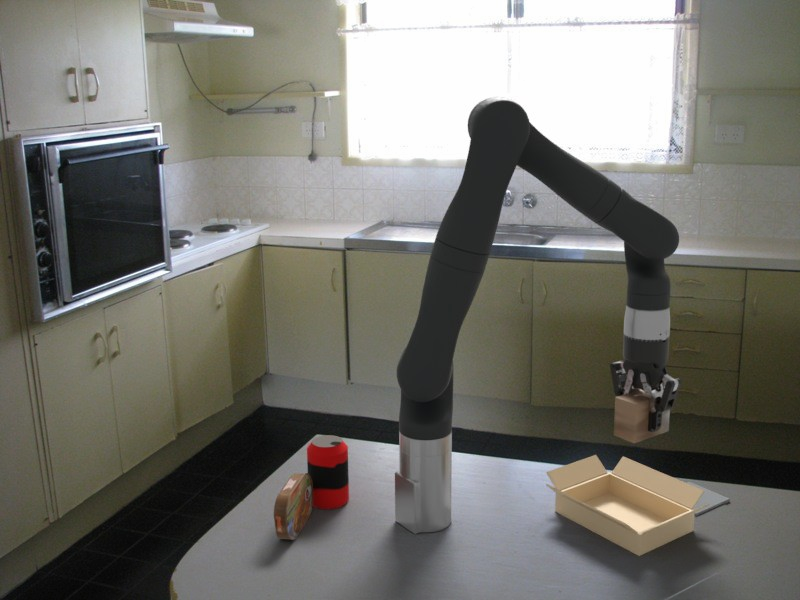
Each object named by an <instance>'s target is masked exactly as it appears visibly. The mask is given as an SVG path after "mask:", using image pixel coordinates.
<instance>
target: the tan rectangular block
mask: <svg viewBox="0 0 800 600" xmlns="http://www.w3.org/2000/svg"><path fill="white" fill-rule="evenodd" d="M655 391H656V390H653V391H652V393H653V392H655ZM614 400H615V401H614V420H613V425H614V426H613V436H615V437H617V438H620V439H622V440H624V441H627V442H629V443H632V444H636V443H639V442H642V441H644V440H648V439H650V438H653V437H656V436H659V435H661V434H664V433H668V432H669V431H670V417H671V416H670V414H671V409H670V410H666V411H664V412H662V422H661V423H662V425H661V428H659V430H658V431H655V432H650V431H648V420H649V411H650V408H649V400H648V399H646V398H645V394H644V391H643V390H642V389H641V390H640V391H634V392H632V393H630V394H629V393H627V394H624V395H621V396H615V397H614ZM655 401H657V398H655ZM656 404H657V403H656Z"/></svg>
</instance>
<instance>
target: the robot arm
mask: <svg viewBox="0 0 800 600" xmlns="http://www.w3.org/2000/svg"><path fill="white" fill-rule="evenodd" d="M467 133H468V137H469V138H470V140H469V141H470V142H469V147H468V153H467V157H466V162H465V165H464V170H463V175H462V178H461V181H460V183H459V186H458V189H457V190H456V192H455V193H454V196H453V198H452V199H451V202H450V203H449V205H448V207H447V210H446V211H445V214H444V216H443V218H442V220H441V223H440V225H439V228H438V229H437V233H436V235H435V240H434V243H433V247H432V249H431V253H430V257H429V260H428V265H427V268H426V273H425V276H424V282H423V287H422V293H421V298H420V304H419V311H418V315H417V317H416V318H417V319H416V321H415V324H414V327H413V330H412V332H411V335H410V337H409V340H408V343H407V345H406V347H404V349H403V351H402V352H401V356H400V358H399V360H398V363H397V367H396V379H397V383H398V386H399V388H400V402H399V403H400V404H399V405H400V406H399V415H398V435H399V436H398V437H399V439H398V440H399V441H398V442H399V443H398V446H399V449H398V450H399V451H398V452H399V453H398V455H399V457H398V458H399V459H398V460H399V463H398V464H399V467H398V468H399V470H397V471H395V472H394V515H395V516H394V519H395V522H397V523H398V524H399V525H401V526H402V527H404V528H405V529H406V530H408V531H409V532H411V533H413V534H414V535H417V534H420V533H434V532H439V531H442V530H444V529H446V528H447V527H449V526H450V525H451V523H452V484H453V483H452V472H453V470H452V465H453V464H452V462H453V461H452V460H453V459H452V457H453V456H452V453H453V451H452V450H453V449H452V448H453V438H452V437H453V412H454V355H455V350H456V346H457V342H458V339H459V334H460V332H461V329H462V326H463V324H464V322H465V319H466V317H467V314H468V312H469V310H470V308H471V306H472V304H473V301H474V299H475V297H476V294H477V292H478V289H479V286H480V284H481V282H482V279H483V276H484V274H485V271H486V267H487V264H488V261H489V257H490V254H491V251H492V248H493V243H494V241H495V235H496V232H497V229H498V225H499V221H500V217H501V213H502V208H503V203H504V199H505V197H506V196H505V195H506V193H507V190H508V188H509V185H510V182H511V180H512V177H513V175H514V172H515V170H516V167H519V168H521V169H522V170H523V171H525V172H527V174H530V175H531V176H533V177H534V178H535V179H537V180H538V181H539V182H541V183H542V184H544V185H545V186H546V187H547V188H548V189H549V190H551V191H552V192H553V193H554V194H556V196H558V197H559V198H561V200H563V201H564V202H565V203H567V204H568V205H569V206H571V207H572V208H573V209H574V210H576V211H577V212H578V213H581V214H582V215H583V216H584V217H586V218H587V219H588V220H590V221H591V222H593V223H594V224H596V225H598V226H599V227H601V228H603V229H605V230H607V231H609V232H612V233H613V234H614V235H615V236H617V237H618V238H619V239H621V241H623V249H624V250H623V251H624V252H623V253H624V258H625V259H624V260H625V268H626V274H627V285H626V286H627V287H626V304H625V312H624V319H623V341H622V342H623V343H622V356H623V358H624V360H618V361H614V362H612V363H610V364H609V370H610V374H611V380H612V386H613V392H614V394H615V397H617V396H621V395H624V394H627V393H629V394H630V393H632V392H634V391H640V390H641V389H642V390H643V391H644V394H645V398H646V399H648V400H649V408H650V411H649V420H648V431H650V432H655V431H658V430H659V428H661V425H662V423H661V422H662V412H664V411H666V410H670V411H671V410H672V409H674V406H675V402H676V401H677V398H678V394H679V391H680V388H681V385H682V379H680V378H679V377H677V378H674V377H672V376H671V375H669V374H668V370H667V366H666V364H667V362H668V359H669V352H670V334H671V313H670V312H671V311H670V307H671V305H670V303H671V302H670V301H671V285H672V284H671V278H670V276H669V274H668V273H667V271H666V267H665V259H668V258H669V257H671V256H672V255H673V254H674V253H675V252H676V251H677V249H678V247H679V243H680V235H679V231H678V229H677V227H676V225H675V224H674V223H673V222H672V221H671V220H669V218H667V217H665V216H663V215H662V214H660V213H659V211H656V210H654V209H653V208H651V207H650V206H647V205H646V204H644V203H643V202H641V201H639V200H638V199H636V198H635V197H633V196H632V195H631V194H629V192H627V191H626V190H625V189H624V188H623V187H621V186H620V185H618V184H617V183H615V182H614V181H613V180H612V179H610V178H609V177H607V176H606V175H604V174H602V173H601V172H600V171H598V170H597V169H596V168H594V167H592V166H591V165H589V164H588V163H586V162H584V161H582V160H581V159H579V158H578V157H575V156H574V155H573V154H572V153H569V152H568V151H566V150H565V149H563V148H562V147H560V146H559V145H557V144H555V142H552V140H550V139H549V138H548V137H546V136H545V135H544V134H543V133H542V132H541V131H540V130H539V129H538V128H536V127H535V126H534V125H533V124H532V123H531V121H530V118H529V115H528V113H527V111H526V110H525V109H524V107H523V106H522V105H521V104H519V103H517V102H516V101H514V100H512V99H509V98H506V97H501V96H492V97H489V98H485V99H483V100H481V101H479V102H478V103H477V104H475V106H474V107H473V108H472V109H471V111H470V113H469V116H468V119H467ZM653 390H656V391H655V392H653V393H652V391H653ZM655 398H657V401H655ZM656 403H657V404H656Z"/></svg>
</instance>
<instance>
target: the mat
mask: <svg viewBox="0 0 800 600" xmlns="http://www.w3.org/2000/svg"><path fill="white" fill-rule="evenodd" d="M686 483H687V484H690V485H692V486H694V487H697V488H699V489H701V490H704V493H703V494H702V496H701V497H700V499H699V500H698V502H697V503H696V505H695V506H694V508H693V509H692V510H695V509H698V508H700V507H702V506H705V505H707V504H709V506H707V507H705V508H703V509H700V510H698V511H696V512H695V515H694V517H697V516H700V515H701V514H704V513H706V512H708V511H711V510H712V509H714V508H717V507H719V506H721V505H725V504H727V503H729V502H730V500H731V499H730V498H729V497H726V496H724V495H721V494H720V493H717V492H715V491H713V490H710V489H707V488H705V487H703V486H701V485H698V484H696V483H694V482H692V481H687V482H686Z"/></svg>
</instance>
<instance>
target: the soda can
mask: <svg viewBox="0 0 800 600" xmlns="http://www.w3.org/2000/svg"><path fill="white" fill-rule="evenodd" d="M306 461H307V462H306V463H307V473H308V474H309V475H310V476H311V479H312V483H313V506H312V507H314V508H317V509H320V510H334V509H339V508H341V507H343V506H345V505H346V504H347V503H348V502H349V499H350V493H349V492H350V487H349V486H350V485H349V483H350V482H349V480H350V479H349V447H348V445H347V444H346V442H344V440H343V439H342V437H339V436H338V435H332V434H331V435H330V434H328V435H327V434H326V435H320V436H316V437H315V438H313V439H312V440H311V442H310V443H309V444H308V446H307V447H306Z"/></svg>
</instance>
